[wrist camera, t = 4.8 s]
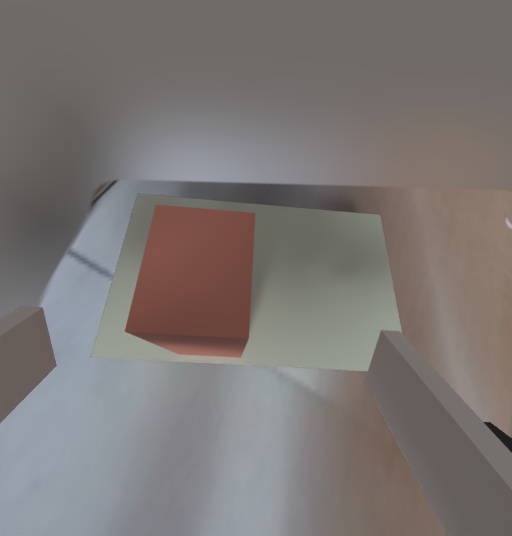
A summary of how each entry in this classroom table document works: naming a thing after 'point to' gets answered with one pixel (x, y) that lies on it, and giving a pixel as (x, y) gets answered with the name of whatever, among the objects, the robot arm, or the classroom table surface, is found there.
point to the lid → (248, 286)
